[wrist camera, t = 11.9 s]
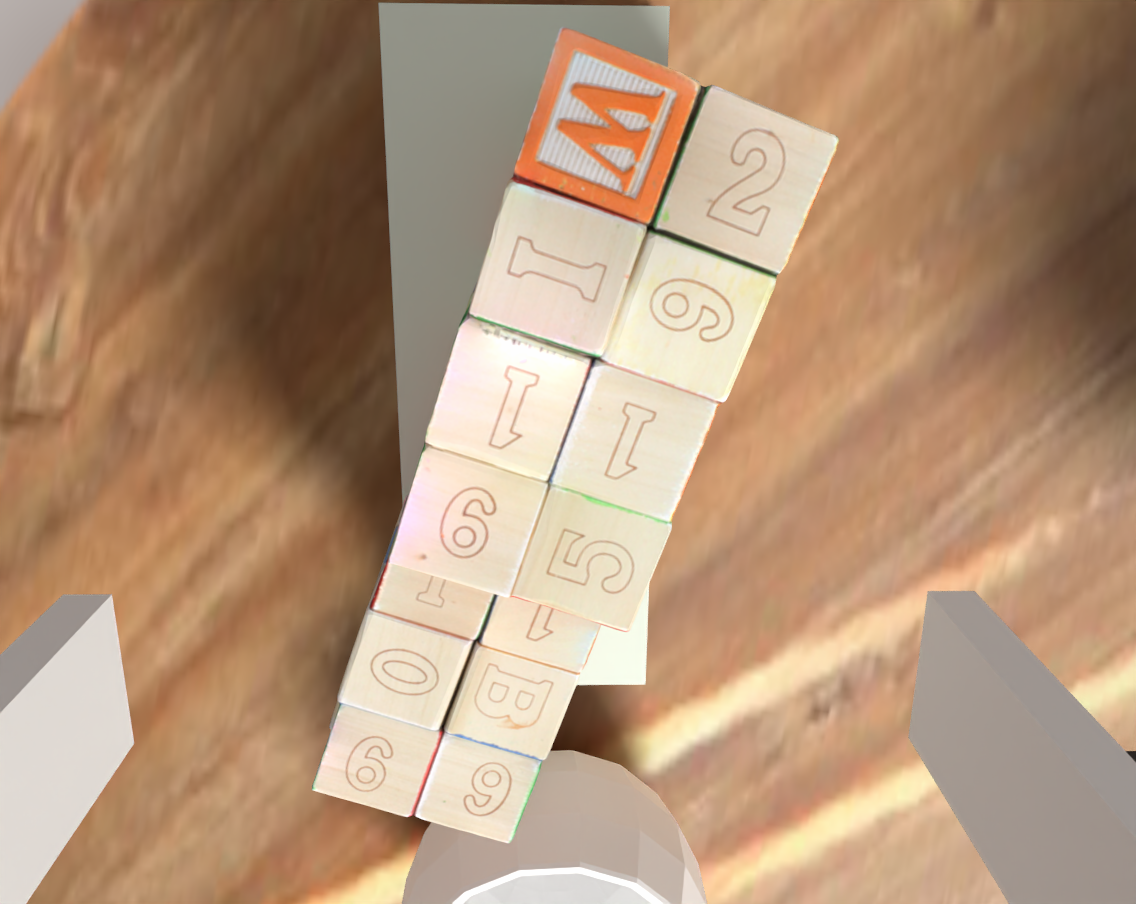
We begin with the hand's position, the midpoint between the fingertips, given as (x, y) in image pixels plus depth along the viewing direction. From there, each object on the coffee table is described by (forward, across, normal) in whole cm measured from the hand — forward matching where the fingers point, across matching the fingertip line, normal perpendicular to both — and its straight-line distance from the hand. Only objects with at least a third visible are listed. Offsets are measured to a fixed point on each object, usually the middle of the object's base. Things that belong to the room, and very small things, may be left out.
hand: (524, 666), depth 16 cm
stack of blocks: (+19, 0, +1) cm, 19 cm away
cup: (+24, -1, +22) cm, 33 cm away
